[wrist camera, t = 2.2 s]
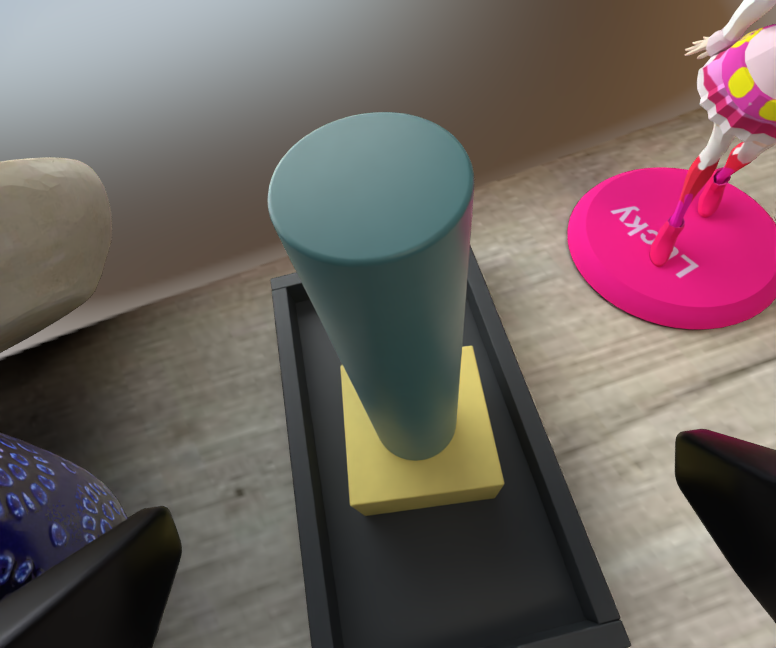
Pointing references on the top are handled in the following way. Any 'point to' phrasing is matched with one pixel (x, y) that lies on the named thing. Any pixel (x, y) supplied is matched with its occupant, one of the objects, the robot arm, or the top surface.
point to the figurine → (693, 203)
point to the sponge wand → (393, 303)
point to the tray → (437, 516)
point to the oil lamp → (48, 242)
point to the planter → (46, 511)
